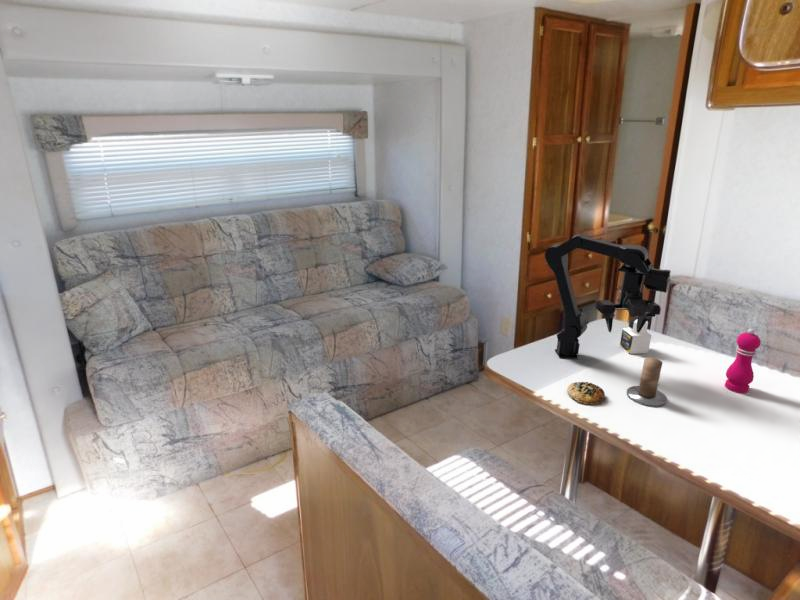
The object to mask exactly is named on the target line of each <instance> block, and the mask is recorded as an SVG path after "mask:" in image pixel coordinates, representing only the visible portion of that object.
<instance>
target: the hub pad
mask: <svg viewBox="0 0 800 600" xmlns="http://www.w3.org/2000/svg"><path fill="white" fill-rule="evenodd" d="M638 390H639V385H632V386H629V387H628V388H627V389H626V396H627V397H628V398H629V399H630V400H631V401H633V402H634V403H637V404H639V405H643V406H646V407H652V408H653V407H662V406H665V405H666V404H667V403H668V397H667V396H666V394H665V393H664V392H662V391H660V390H658V389H657V392H656V397H655V398H653V399H648V398H644V397H641V396H640V395H639V394H638Z"/></svg>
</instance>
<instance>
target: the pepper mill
mask: <svg viewBox="0 0 800 600" xmlns="http://www.w3.org/2000/svg"><path fill="white" fill-rule="evenodd" d="M755 332H756V331H755V329H754V328H748V329H747V332H742V333H740V334H739V335H738V336H737V337H736V344H737V346H736V350H735V351H736V352H737V353H736V357H735V359H734V361H733V362H732V363H731V364H730V366H729V367H728V368H727V370H726V371H725V377H726V378H727V379H725V384H724V387H725V388H726V389H727V390H729V391H731V392H734V393H738V394H747V393H748V392H749V388H750V385H751V383H753V382H754V370H753V367H752V361H753V357H755V356H756V353H757V349H758V348H760V346H761V339H760V337H759V335H757V334H755Z"/></svg>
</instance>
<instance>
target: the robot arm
mask: <svg viewBox="0 0 800 600" xmlns="http://www.w3.org/2000/svg"><path fill="white" fill-rule="evenodd" d="M576 249H581V250H584V251H587V252H588V251H589V252H590V253H591V252H592V253H596V254H600V255H603V256H607V257H610V258H614V259H616V260H617V261H618V262H620V263H622V265H621V266H619V267H618V268H617V271H618V272H623V277H622V282H621V283H622V284H621V286H619V290H620V296H619V298H617V303H614V302H612V301H611V300H605V299H599V300H598V301H597V302H595V309H596V310H597V311H598V312H600V314H603V317H604V320H605V323H606V327H607V331H608V332H609V333H611V332H612V329H613V321H614V317H615V314H614V313H615V312H616V311H628V314H629V316H630V317H638V320H637V332H638V333H639V332H640V330H641V329H642V327H643V326H644V324H645V323H646V321H648V320H649V319H651V318H655V317H656V316H657V315H658V316H659V315H661V311H662V307H661V306H660V305H659V304H658V303H656V302H655V301H654V300H652V299H644V297H643V295H644V294H643V291H642V288H643V287H642V286H644V288H646V290H649V291H655V292H661V293H666V294H667V293H668V292H669V287H670V284H671V270H670V269H661V268H660V269H659V268H654V265H653V263H652V261H651V259H650V258H649V251H648V250H647V248H646V247H645V246H643V245H637V244H635V245H634V244H617V243H614V242H610V241H605V240H602V239H599V238H598V239H597V238H593V237H590V236H586V235H584V234H581V233H579V234H575V235H573V237H571V238H570V239H568V240H567V241H565V242H563V243H555V244H554V245H552V246H550V247H548V248H547V249H546V250H545V252H544V259H545V261H546V263H547V266H548V267H549V268H550V270H551V271H552V273H553V275H554V278H555V282H556V285H557V289H558V293H559V297H560V301H561V304H562V309H563V311H564V316H563V318H564V319H563V328H562V329H561V330H560V331H559V332H558V333H557V334H556V338H557V344H556V348H555V349H554V352H555V353H556V355H557V356H558V358H560V359H579V356H578V355H579V351H580V343H579V338H580V337H581V336H582V335H583V334H584V333H585V332H586V330H587V329H588V324H589V320H588V319H587V314H586V312H581V311H580V309H579V307H578V304H577V299H576V296H575V293H574V289H573V285H572V281H571V278H570V273H569V270H568V266H569V253H571V252H572V251H574V250H576Z"/></svg>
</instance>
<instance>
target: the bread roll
mask: <svg viewBox="0 0 800 600" xmlns="http://www.w3.org/2000/svg"><path fill="white" fill-rule="evenodd" d="M566 392H567V394H568V396H569V397H570V398H571V399H572V400H574V401H576V402H578V403H580V404H582V405H590V404H592V405H599V404H601V403H602V402H604V400H605V398H606V394H605V391H604V389H603V388H602V387H600V386H598V384H594V383H593V382H588V381H586V382H585V381H580V382H578V381H576V382H572V383H570V384H569V385H568V387H567V388H566Z"/></svg>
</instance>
